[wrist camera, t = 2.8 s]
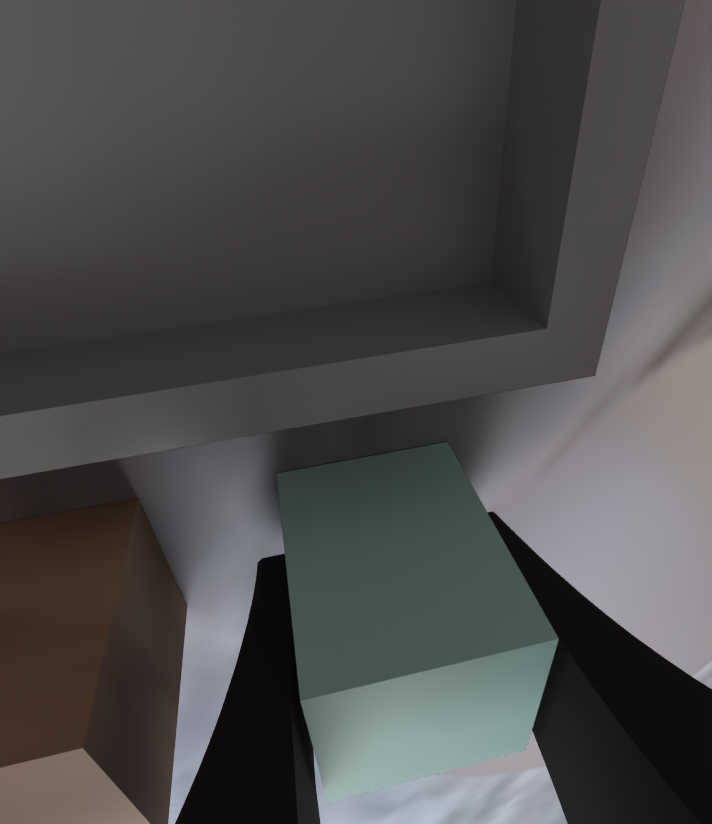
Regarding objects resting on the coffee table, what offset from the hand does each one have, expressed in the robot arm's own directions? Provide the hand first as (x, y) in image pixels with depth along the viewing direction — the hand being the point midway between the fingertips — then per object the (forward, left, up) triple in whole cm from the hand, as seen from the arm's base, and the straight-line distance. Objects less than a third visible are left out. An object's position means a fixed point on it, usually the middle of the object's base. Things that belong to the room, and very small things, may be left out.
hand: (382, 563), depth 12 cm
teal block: (0, 0, -1) cm, 1 cm away
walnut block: (0, +7, -2) cm, 7 cm away
